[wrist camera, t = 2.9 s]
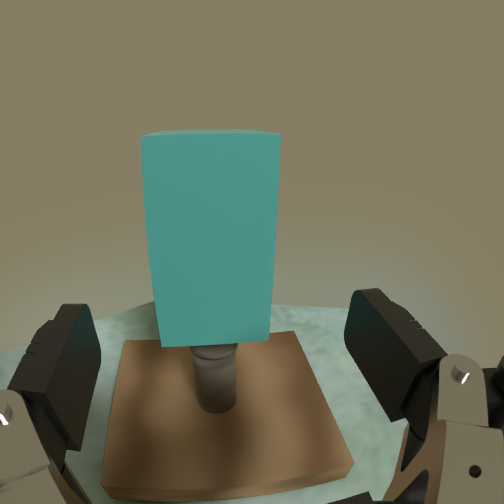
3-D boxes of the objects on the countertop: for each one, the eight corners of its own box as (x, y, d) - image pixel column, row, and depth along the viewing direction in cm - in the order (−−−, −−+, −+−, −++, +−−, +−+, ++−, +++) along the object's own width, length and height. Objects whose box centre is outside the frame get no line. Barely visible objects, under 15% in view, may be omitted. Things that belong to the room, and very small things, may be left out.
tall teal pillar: (162, 346, 17) (141, 136, 12) (167, 292, 22) (157, 131, 18) (268, 340, 18) (280, 134, 13) (250, 288, 23) (255, 129, 19)
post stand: (112, 498, 16) (39, 394, 11) (129, 358, 30) (107, 252, 25) (345, 477, 18) (400, 367, 14) (291, 349, 33) (303, 243, 28)
